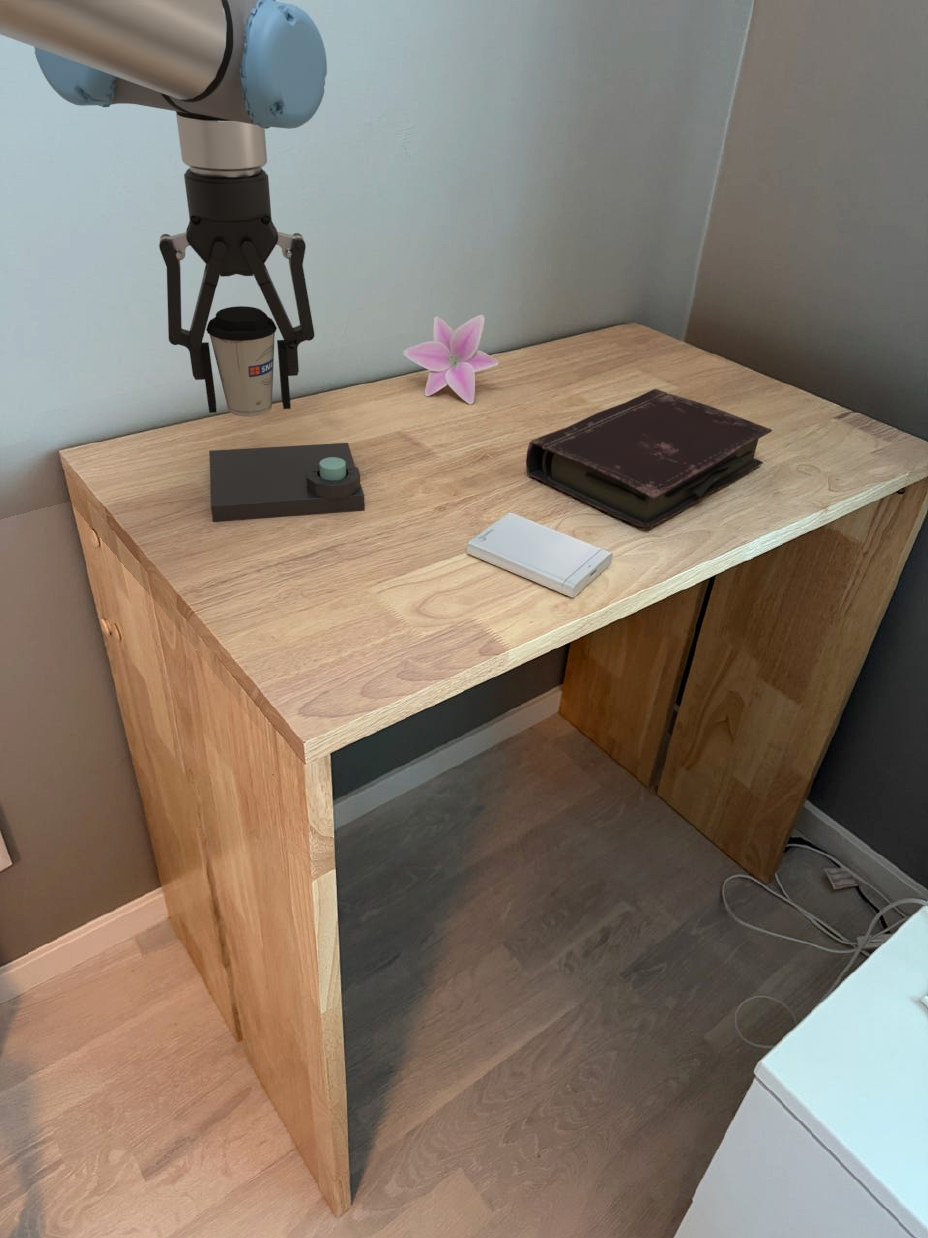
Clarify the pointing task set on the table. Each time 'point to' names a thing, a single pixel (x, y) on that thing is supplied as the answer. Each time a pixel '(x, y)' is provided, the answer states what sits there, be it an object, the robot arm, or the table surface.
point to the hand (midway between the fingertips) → (249, 405)
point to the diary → (647, 456)
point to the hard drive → (540, 554)
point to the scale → (281, 482)
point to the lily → (453, 357)
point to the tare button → (332, 468)
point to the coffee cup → (244, 358)
